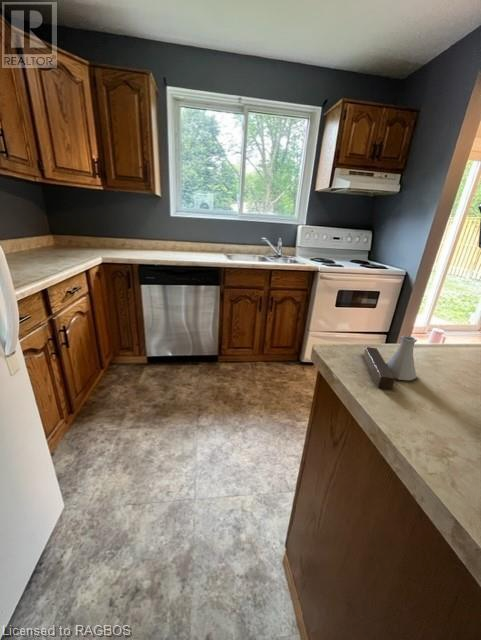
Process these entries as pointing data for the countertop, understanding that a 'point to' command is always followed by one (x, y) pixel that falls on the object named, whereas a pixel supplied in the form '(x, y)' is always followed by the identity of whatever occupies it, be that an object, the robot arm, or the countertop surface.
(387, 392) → the countertop surface
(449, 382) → the countertop surface
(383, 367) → the rail
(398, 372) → the flask
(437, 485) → the countertop surface
